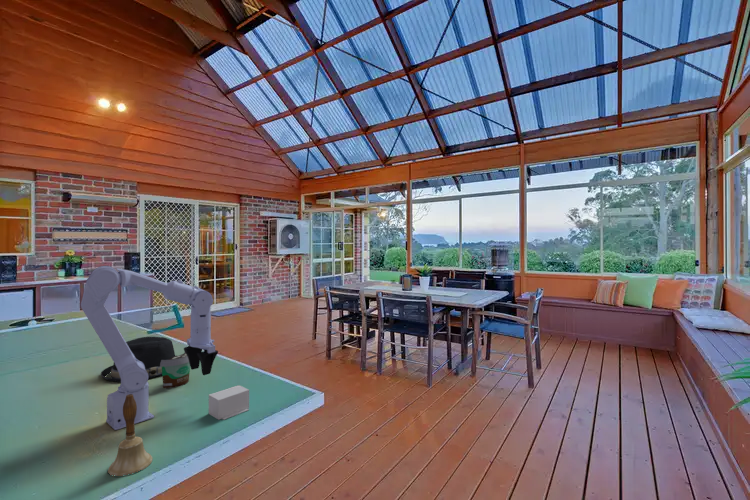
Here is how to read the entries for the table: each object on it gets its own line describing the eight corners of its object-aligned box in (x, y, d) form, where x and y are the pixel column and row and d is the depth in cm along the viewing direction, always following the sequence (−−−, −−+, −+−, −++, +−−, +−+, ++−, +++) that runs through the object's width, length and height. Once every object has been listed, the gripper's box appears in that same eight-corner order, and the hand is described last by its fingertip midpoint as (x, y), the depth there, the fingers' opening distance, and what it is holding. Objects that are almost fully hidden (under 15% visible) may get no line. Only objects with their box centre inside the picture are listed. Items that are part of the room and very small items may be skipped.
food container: (175, 391, 122) (175, 361, 122) (159, 389, 123) (159, 360, 123) (200, 378, 134) (200, 351, 134) (185, 376, 135) (185, 350, 135)
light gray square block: (223, 419, 102) (223, 419, 102) (209, 411, 107) (209, 410, 107) (249, 410, 108) (249, 409, 108) (234, 402, 113) (234, 401, 113)
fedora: (98, 370, 142) (98, 338, 141) (175, 356, 160) (175, 328, 160) (104, 389, 123) (104, 353, 123) (191, 371, 141) (191, 339, 141)
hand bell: (128, 480, 76) (128, 404, 75) (98, 473, 78) (98, 399, 78) (161, 458, 84) (161, 389, 83) (133, 452, 86) (133, 385, 86)
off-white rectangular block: (218, 419, 102) (218, 400, 102) (208, 413, 106) (208, 394, 106) (249, 408, 109) (249, 389, 109) (238, 402, 113) (238, 385, 113)
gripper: (224, 329, 111) (224, 373, 111) (202, 322, 120) (202, 363, 120) (202, 333, 106) (201, 379, 106) (180, 326, 115) (180, 368, 115)
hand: (200, 371), depth 113 cm, fingers open, 7 cm apart
